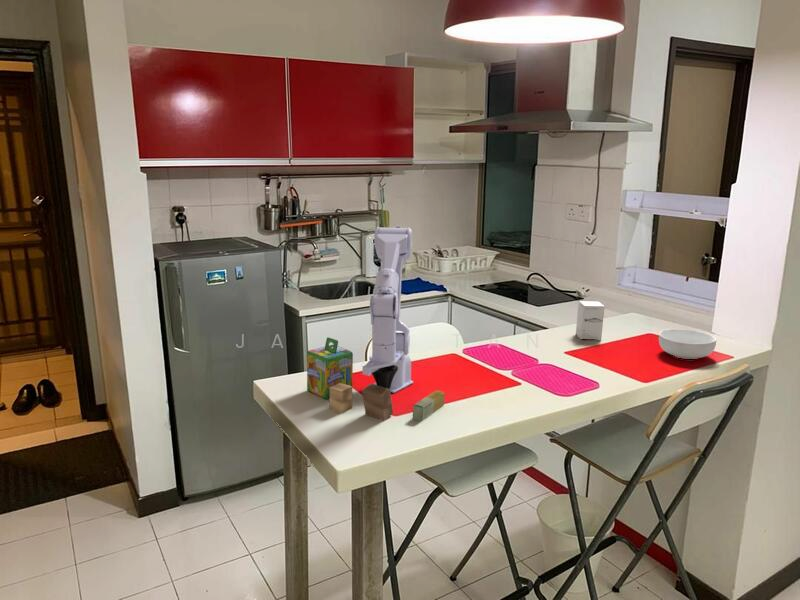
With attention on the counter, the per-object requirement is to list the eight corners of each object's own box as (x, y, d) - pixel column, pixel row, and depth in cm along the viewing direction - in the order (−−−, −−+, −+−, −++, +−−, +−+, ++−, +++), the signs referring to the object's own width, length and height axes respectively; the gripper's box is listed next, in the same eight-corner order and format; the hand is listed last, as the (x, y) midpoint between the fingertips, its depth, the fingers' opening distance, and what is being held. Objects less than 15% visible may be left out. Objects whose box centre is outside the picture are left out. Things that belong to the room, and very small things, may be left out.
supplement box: (580, 340, 211) (583, 305, 208) (575, 334, 218) (578, 300, 215) (601, 340, 210) (605, 305, 207) (595, 334, 217) (599, 300, 214)
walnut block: (374, 407, 152) (370, 383, 150) (393, 413, 149) (389, 389, 146) (365, 414, 150) (361, 390, 147) (384, 420, 146) (381, 396, 144)
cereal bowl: (676, 345, 206) (679, 325, 205) (724, 359, 193) (727, 338, 191) (646, 353, 197) (648, 333, 196) (693, 368, 184) (696, 346, 182)
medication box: (421, 422, 146) (422, 407, 145) (411, 419, 147) (412, 404, 146) (444, 405, 156) (445, 391, 155) (435, 403, 157) (436, 389, 156)
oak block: (340, 404, 155) (340, 382, 154) (352, 408, 153) (352, 386, 152) (329, 409, 152) (329, 387, 151) (341, 413, 150) (341, 391, 149)
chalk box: (306, 391, 164) (304, 339, 160) (333, 382, 170) (332, 332, 167) (327, 401, 158) (326, 347, 154) (354, 391, 164) (353, 339, 160)
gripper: (388, 332, 154) (388, 381, 158) (352, 346, 143) (352, 399, 146) (411, 337, 150) (410, 388, 154) (375, 352, 139) (375, 406, 142)
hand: (383, 394), depth 150 cm, fingers closed
